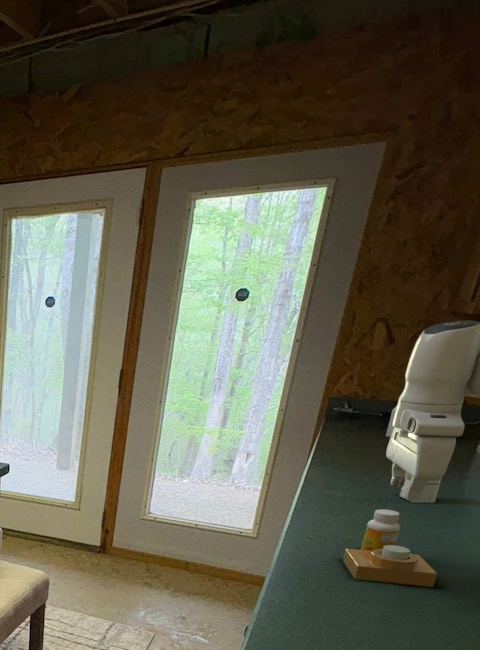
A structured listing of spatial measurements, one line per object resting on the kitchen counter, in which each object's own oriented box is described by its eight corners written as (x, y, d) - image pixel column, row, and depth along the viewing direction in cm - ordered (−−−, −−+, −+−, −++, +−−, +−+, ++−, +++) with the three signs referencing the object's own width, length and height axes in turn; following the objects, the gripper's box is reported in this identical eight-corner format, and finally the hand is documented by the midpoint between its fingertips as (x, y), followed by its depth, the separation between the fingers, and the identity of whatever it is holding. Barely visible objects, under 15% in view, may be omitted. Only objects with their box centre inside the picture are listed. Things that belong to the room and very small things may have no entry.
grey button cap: (403, 554, 119) (406, 546, 118) (410, 562, 116) (413, 553, 115) (378, 552, 121) (380, 544, 120) (384, 559, 117) (386, 551, 117)
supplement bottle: (354, 551, 134) (365, 507, 130) (383, 552, 132) (395, 508, 129) (367, 560, 129) (379, 515, 125) (397, 561, 128) (409, 516, 124)
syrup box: (435, 503, 162) (452, 447, 157) (410, 502, 163) (425, 447, 158) (422, 497, 167) (437, 443, 162) (397, 496, 168) (411, 443, 163)
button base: (414, 569, 123) (421, 546, 122) (433, 590, 115) (441, 565, 113) (342, 563, 128) (347, 540, 126) (354, 582, 119) (360, 557, 117)
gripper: (387, 409, 122) (369, 478, 127) (421, 426, 104) (398, 505, 109) (428, 410, 119) (407, 480, 124) (469, 428, 102) (443, 509, 107)
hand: (403, 492), depth 117 cm, fingers open, 8 cm apart
